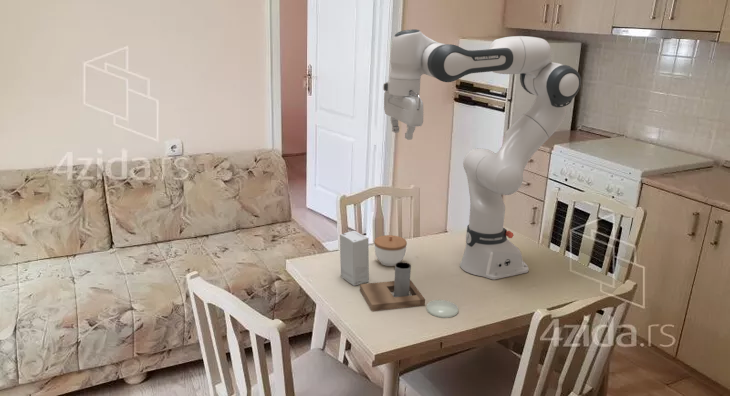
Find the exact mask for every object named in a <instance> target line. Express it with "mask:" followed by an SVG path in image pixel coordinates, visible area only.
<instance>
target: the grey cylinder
mask: <svg viewBox="0 0 730 396" xmlns="http://www.w3.org/2000/svg"><path fill="white" fill-rule="evenodd" d="M411 265H412V264H411V263H408V262H405V261H401V262H399V263H396V265H395V266H394V280H393V281H394V292H393V296H394V297H402V296H410V292H409V287H410V280H411V273H412V271H411V267H412V266H411Z"/></svg>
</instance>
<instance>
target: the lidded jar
mask: <svg viewBox="0 0 730 396" xmlns="http://www.w3.org/2000/svg"><path fill="white" fill-rule="evenodd" d="M407 244H408V243H407V240H406V239H405V238H404V237H402V236H398V235H393V234H387V235H380V236H377V237H376V238H375V239H374V253H375V257H376V259H377V260H378V261H379V262H380V264H381V265H383V266H385V267H395V265H396V263H399V262H403V259H404V258H405V255H406V250H407Z"/></svg>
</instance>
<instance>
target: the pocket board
mask: <svg viewBox="0 0 730 396" xmlns="http://www.w3.org/2000/svg"><path fill="white" fill-rule="evenodd" d="M359 291H360V293H361V294H362V296H363V298H364V300H365V302H366V303H367V306H368V307H369V309H370V311H371V312H374V311H375V312H376V311H377V312H378V311H385V310H396V309H403V308H404V309H405V308H413V307H423V306H425V305H426V299H425V297H424V296H423V294H422V293H421V291H419V289H418V288H417V286H416V285H415V284H414V283H413V281H412V280H411V279H410V287H409V294H410V295H409V296H402V297H394V294H393V293H394V280H392V281H380V282H371V283H370V282H367V283H363V284H359Z"/></svg>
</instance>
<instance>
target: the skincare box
mask: <svg viewBox="0 0 730 396" xmlns="http://www.w3.org/2000/svg"><path fill="white" fill-rule="evenodd" d="M339 245H340V246H339V248H340V249H339V250H340V254H339V257H340V278H342V279H343V280H345V281H346V282H348V283H349V284H351V285H352V286H354V287H355V286H357V285H358V286H360V284H368V283H370V282H369V281H370V280H369V279H370V277H369V276H370V274H369V273H370V272H369V271H370V268H369V265H370V263H369V260H370V259H369V237H367V236H365V235H364V234H361V232H360V233H359V232H358V231H356V230H352V231H348V232H343V233H340V234H339Z"/></svg>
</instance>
